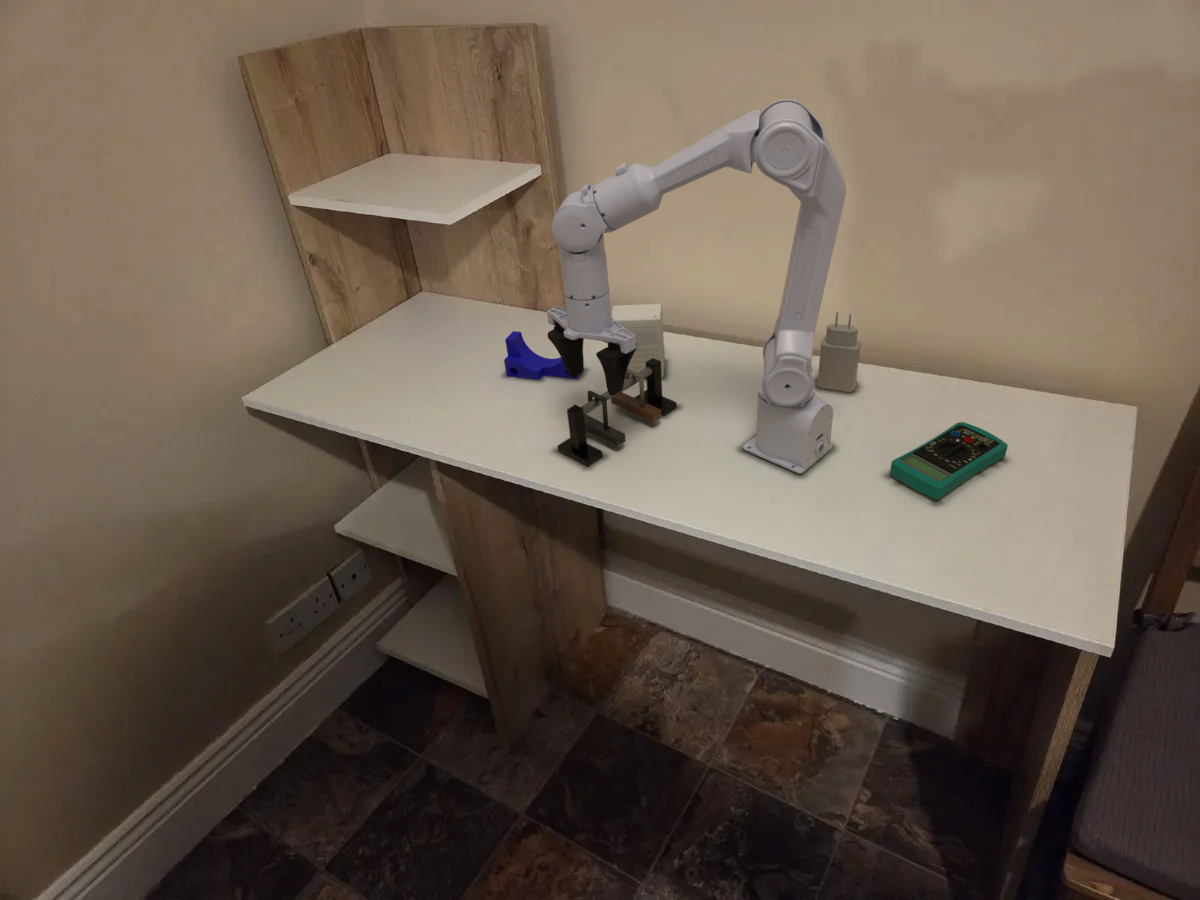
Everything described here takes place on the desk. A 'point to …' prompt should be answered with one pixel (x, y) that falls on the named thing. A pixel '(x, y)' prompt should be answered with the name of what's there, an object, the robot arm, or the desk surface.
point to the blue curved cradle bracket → (530, 361)
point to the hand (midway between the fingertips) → (595, 383)
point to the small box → (643, 332)
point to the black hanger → (603, 424)
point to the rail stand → (577, 441)
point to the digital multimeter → (948, 459)
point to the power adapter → (839, 357)
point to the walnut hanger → (637, 401)
